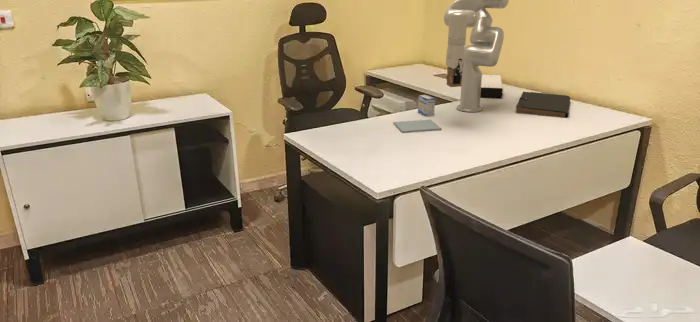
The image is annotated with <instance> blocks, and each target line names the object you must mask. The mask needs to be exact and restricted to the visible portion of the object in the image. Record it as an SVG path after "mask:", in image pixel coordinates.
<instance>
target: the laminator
mask: <svg viewBox="0 0 700 322" xmlns="http://www.w3.org/2000/svg"><path fill="white" fill-rule="evenodd" d="M504 94H505V93H504V92H503V83H502V75H500V74H482V82H481V94H480V99H500V100H501V99H502V98H503V95H504Z"/></svg>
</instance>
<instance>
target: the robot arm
mask: <svg viewBox="0 0 700 322" xmlns="http://www.w3.org/2000/svg"><path fill="white" fill-rule="evenodd" d="M509 2H510V0H455V1H453V2H452V3H451V4H449V6H448V7H447V9H446V10H445V12H444V15H443V23H444V25H445V26H447V27H448V31H447V32H448V33H447V37H448V38H447V48H446V54H445V56H446V57H445V65H446V66H447V67H450V68H452V69H454V76H453V84H460V81H461V72H462V85H461V87H460V90H461V91H460V99H459V100H460V102H459V104H457V105H456V109H457V110H458V111H461V112H464V113H465V112H466V113H477V112H481V111H483V106H482V105H481V104H480V103H481V98H480V94H481V82H482V75H483V74H482V71H481V69H480V67H487V68H488V67H490V68H491V67H495V66H496V65H497V64H498V62H499V58H500V54H501V52H502V47H503V44H504V38H505V32H504V30H503V28H501V27H498V26H492V23H493V17H492V15H491V14H490V13H489V11H488V10H487V9H498V10H499V9H501V10H503V9H505V8H506V7H507V6H508V4H509ZM467 28H468V29H469V28H470V29H471V31H470V36H469V43H470V45H466V41H467ZM456 67H459V68H456ZM456 70H457V72H456Z"/></svg>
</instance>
